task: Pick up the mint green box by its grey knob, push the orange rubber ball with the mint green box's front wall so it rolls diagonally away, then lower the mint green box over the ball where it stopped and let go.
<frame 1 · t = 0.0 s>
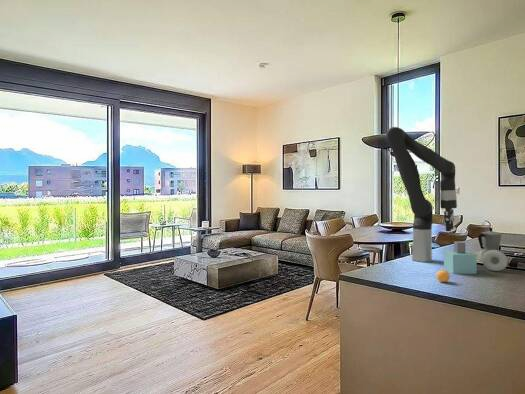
hand: (449, 230, 181), 17 cm above the worktop, tool pointing down, fingers open, 8 cm apart
mint green box: (459, 270, 165), on the worktop
ball: (443, 276, 148), on the worktop
donut: (494, 271, 164), on the worktop
coffeepot: (489, 262, 182), on the worktop
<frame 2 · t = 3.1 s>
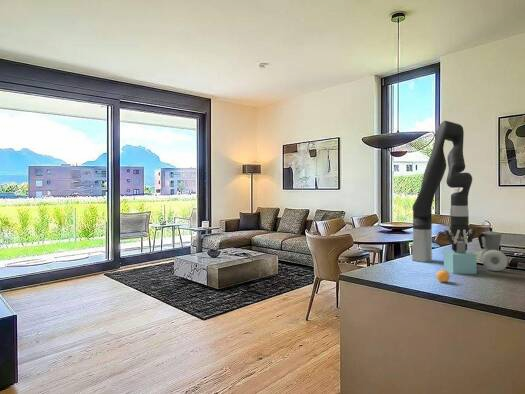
hand: (459, 251, 165), 9 cm above the worktop, tool pointing down, fingers closed on mint green box, 3 cm apart
mint green box: (459, 270, 165), on the worktop, touching gripper
everything else where it was.
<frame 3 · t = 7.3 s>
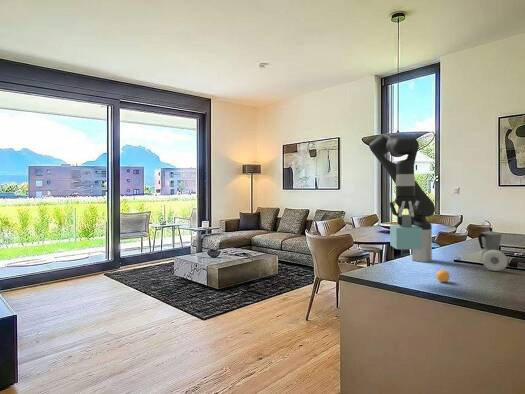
hand: (405, 225, 149), 24 cm above the worktop, tool pointing down, fingers closed on mint green box, 3 cm apart
mint green box: (405, 247, 149), point 15 cm above the worktop, touching gripper
everything else where it was.
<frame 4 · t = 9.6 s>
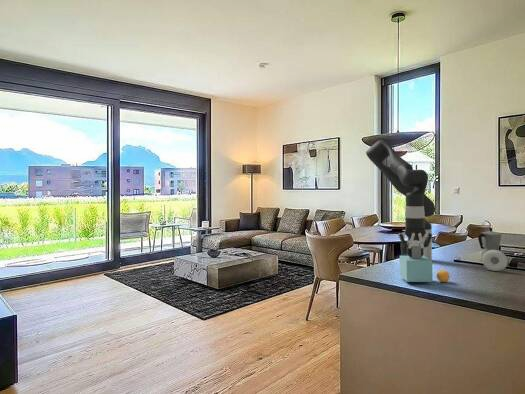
hand: (415, 256, 149), 11 cm above the worktop, tool pointing down, fingers closed on mint green box, 3 cm apart
mint green box: (415, 278, 149), point 1 cm above the worktop, touching gripper
everything else where it was.
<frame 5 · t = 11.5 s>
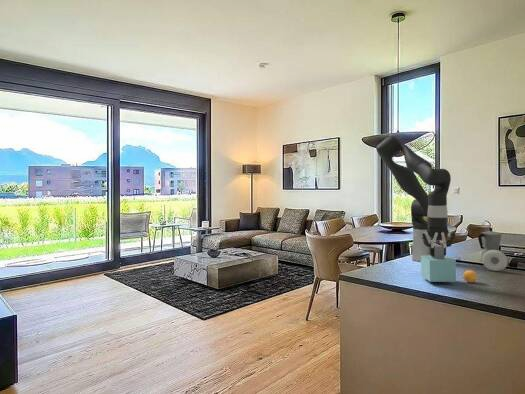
hand: (437, 256, 148), 11 cm above the worktop, tool pointing down, fingers closed on mint green box, 3 cm apart
mint green box: (437, 278, 148), point 2 cm above the worktop, touching gripper
ball: (470, 276, 146), on the worktop
everything else where it was.
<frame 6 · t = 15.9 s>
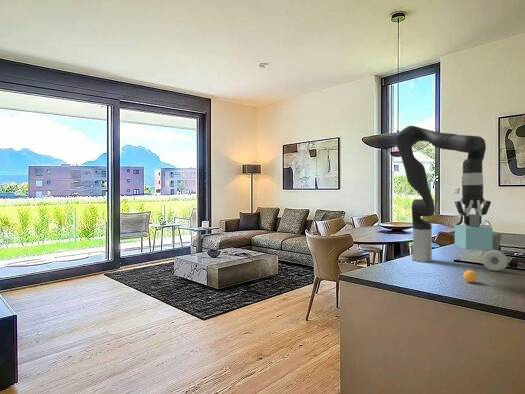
hand: (472, 224, 146), 24 cm above the worktop, tool pointing down, fingers closed on mint green box, 3 cm apart
mint green box: (472, 247, 146), point 15 cm above the worktop, touching gripper
everything else where it was.
when the fingers open (10 cm above the worktop, at t = 19.7 s): mint green box stays where it is, on the worktop.
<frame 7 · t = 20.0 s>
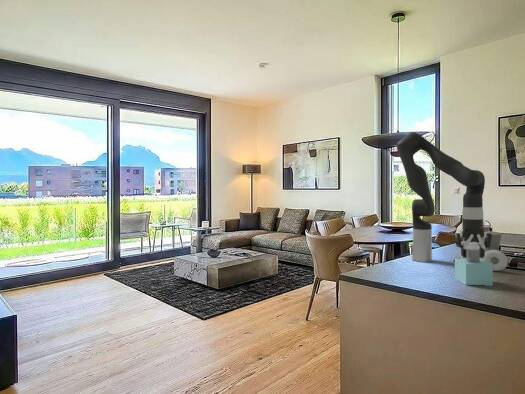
hand: (472, 257, 146), 10 cm above the worktop, tool pointing down, fingers open, 6 cm apart
mint green box: (473, 282, 146), on the worktop
everything else where it was.
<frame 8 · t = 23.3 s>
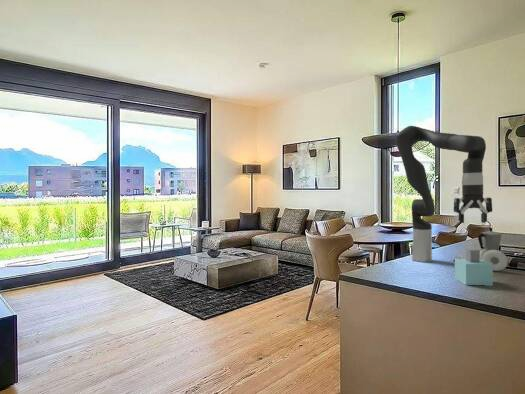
hand: (472, 222, 146), 25 cm above the worktop, tool pointing down, fingers open, 8 cm apart
nothing on the worktop moved.
at the end: ball 1.2 cm from the mint green box (horizontally); mint green box on the worktop; ball moved 10.8 cm from its start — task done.
